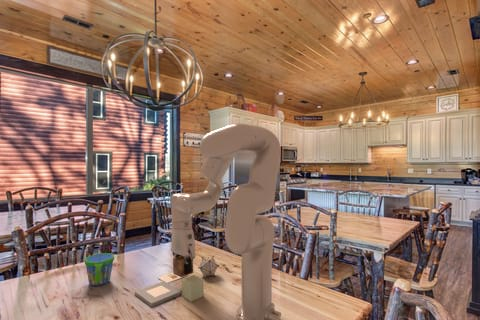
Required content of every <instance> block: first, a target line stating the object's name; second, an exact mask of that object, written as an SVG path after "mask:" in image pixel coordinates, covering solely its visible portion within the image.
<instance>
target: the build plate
mask: <svg viewBox="0 0 480 320" xmlns="http://www.w3.org/2000/svg"><path fill="white" fill-rule="evenodd" d="M134 295H135V296H136V297H137V298H138V299H140V300H142V302H144V303H146V304H147V305H148V306H149V307H151V308H152V307H155V306H158V305H160V304H163V303H164V302H167V301H169V300H171V299H174V298H176V297H179V296H180V295H181V296H182V289H179V288H178V287H176V286H175V285H172V284H170V283H167V282H165V281H160V282H158V283H155V284H152V285H149V286H147V287H144V288H141V289H139V290H135V291H134Z"/></svg>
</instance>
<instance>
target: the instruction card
mask: <svg viewBox="0 0 480 320" xmlns="http://www.w3.org/2000/svg"><path fill="white" fill-rule="evenodd" d="M187 277H189V275H186V276H184V277H180V276H177V275H175V274H173V272H170V273H168V274H165V275H162V276H159V277H157V279H158V280H160V281H161V282H163V281H165V282H167V283H168V284H170V283H172V282H175V281H177V280H180V279H183V278H187Z"/></svg>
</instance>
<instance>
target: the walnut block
mask: <svg viewBox="0 0 480 320" xmlns="http://www.w3.org/2000/svg"><path fill="white" fill-rule="evenodd" d="M188 258H189V256H187V259H188ZM184 264H185V261H184V256H179V257H175V258H174V257H173V258H172V266H173V267H172V269H173V270H172V273H173V274H175V275H177V276H180V277H183V278H185V277H184V276H186V275H188V276H189V275H191V274H194V261H193V262H192V272H191V273H189V274H186V275H185V274H184ZM186 277H187V276H186Z"/></svg>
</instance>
